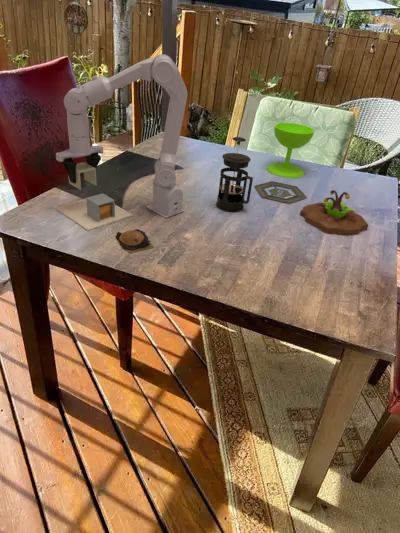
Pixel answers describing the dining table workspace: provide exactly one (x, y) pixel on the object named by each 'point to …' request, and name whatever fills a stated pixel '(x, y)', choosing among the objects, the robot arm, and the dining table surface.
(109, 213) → the orange block
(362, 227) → the plant
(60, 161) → the robot arm
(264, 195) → the hexagonal trivet
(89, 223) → the mat
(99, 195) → the near cover
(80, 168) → the far cover
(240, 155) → the french press
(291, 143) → the wineglass
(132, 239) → the wood slice
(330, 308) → the dining table surface
